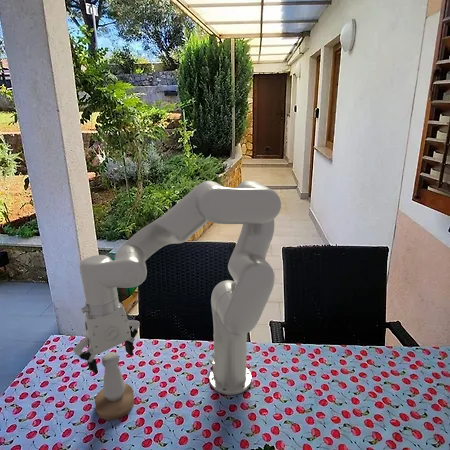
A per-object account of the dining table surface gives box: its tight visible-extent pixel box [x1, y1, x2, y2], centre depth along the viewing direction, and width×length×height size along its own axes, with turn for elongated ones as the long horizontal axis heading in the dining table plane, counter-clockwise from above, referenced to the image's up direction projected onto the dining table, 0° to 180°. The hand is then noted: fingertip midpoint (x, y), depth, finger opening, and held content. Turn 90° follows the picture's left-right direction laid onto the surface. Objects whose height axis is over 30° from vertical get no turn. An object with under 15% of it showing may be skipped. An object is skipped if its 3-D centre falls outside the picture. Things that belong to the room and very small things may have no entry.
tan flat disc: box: [94, 383, 135, 421], centre depth 93 cm, size 10×10×3 cm
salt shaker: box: [101, 351, 126, 402], centre depth 91 cm, size 6×6×13 cm
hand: (112, 361), depth 90 cm, fingers open, 9 cm apart
